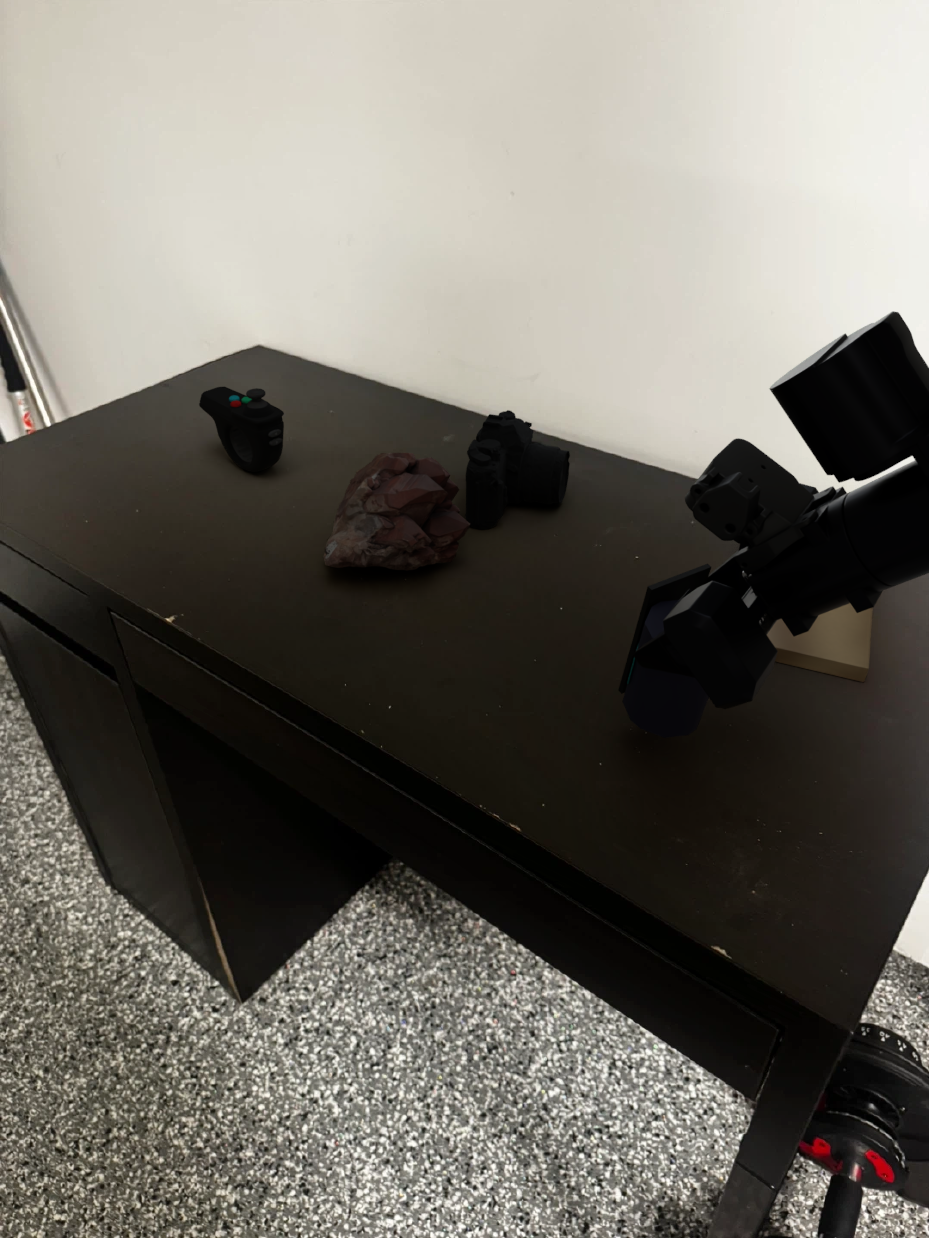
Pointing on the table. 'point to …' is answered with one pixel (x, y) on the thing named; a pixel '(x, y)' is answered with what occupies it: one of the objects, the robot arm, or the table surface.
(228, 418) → the controller
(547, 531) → the table surface
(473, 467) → the film camera
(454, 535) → the mineral specimen
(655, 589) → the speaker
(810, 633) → the birch board
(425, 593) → the table surface
